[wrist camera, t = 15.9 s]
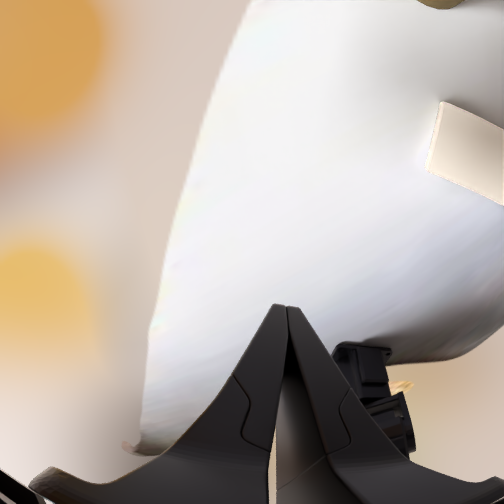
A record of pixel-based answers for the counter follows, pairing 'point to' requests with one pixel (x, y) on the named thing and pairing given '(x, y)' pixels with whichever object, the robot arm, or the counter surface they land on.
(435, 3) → the cork
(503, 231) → the counter surface
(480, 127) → the domino
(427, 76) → the counter surface
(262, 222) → the counter surface
